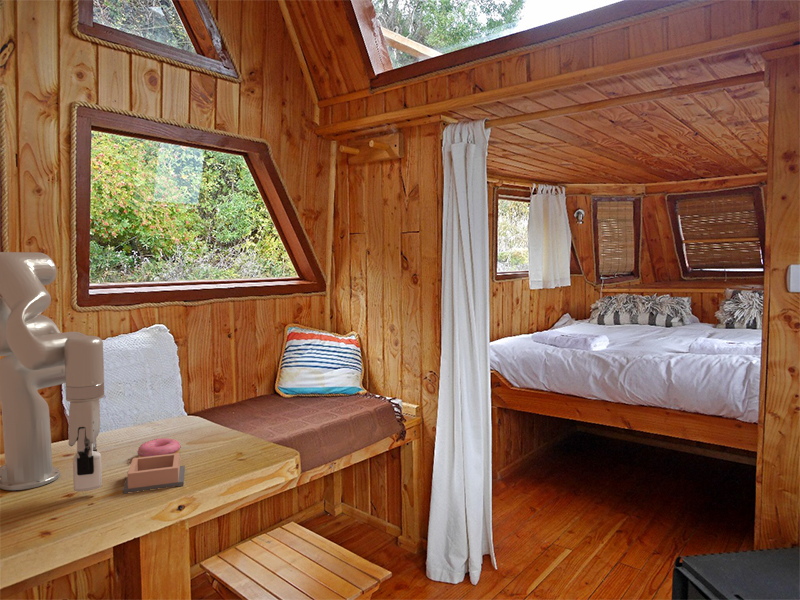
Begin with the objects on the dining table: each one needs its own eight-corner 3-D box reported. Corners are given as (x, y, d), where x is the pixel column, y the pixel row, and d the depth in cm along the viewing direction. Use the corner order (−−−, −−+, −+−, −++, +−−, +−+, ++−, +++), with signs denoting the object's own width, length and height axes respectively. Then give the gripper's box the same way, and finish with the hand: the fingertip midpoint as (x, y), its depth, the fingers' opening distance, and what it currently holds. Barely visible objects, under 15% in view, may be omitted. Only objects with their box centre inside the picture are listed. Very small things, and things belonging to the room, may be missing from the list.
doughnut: (149, 450, 158) (148, 435, 158) (187, 450, 158) (187, 435, 158) (129, 464, 148) (129, 448, 147) (170, 464, 147) (170, 448, 147)
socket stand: (122, 493, 129) (122, 474, 128) (128, 476, 139) (128, 458, 139) (183, 485, 133) (182, 467, 133) (184, 469, 143) (184, 452, 143)
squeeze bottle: (94, 492, 125) (93, 440, 124) (70, 491, 125) (68, 439, 124) (105, 484, 129) (104, 433, 128) (81, 483, 129) (79, 433, 128)
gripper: (74, 383, 132) (76, 459, 133) (57, 402, 116) (59, 487, 118) (109, 381, 134) (111, 455, 136) (97, 400, 119) (99, 483, 120)
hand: (87, 469), depth 127 cm, fingers closed on squeeze bottle, 3 cm apart
